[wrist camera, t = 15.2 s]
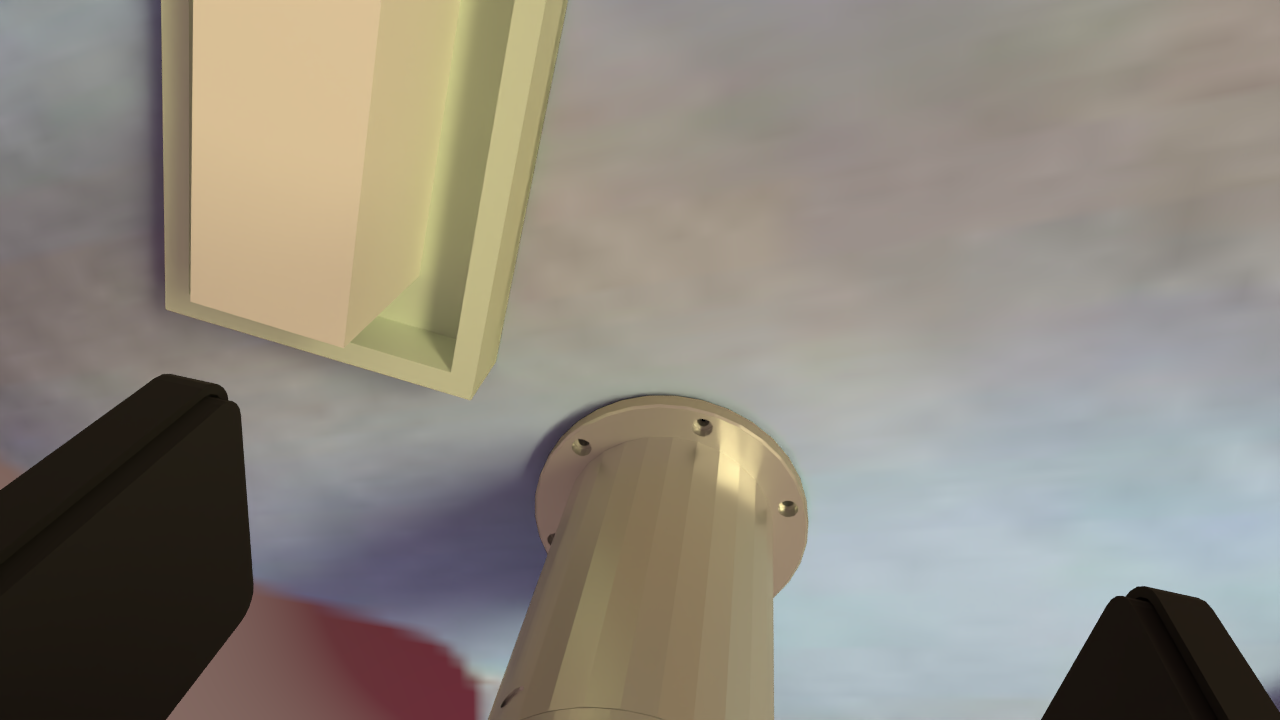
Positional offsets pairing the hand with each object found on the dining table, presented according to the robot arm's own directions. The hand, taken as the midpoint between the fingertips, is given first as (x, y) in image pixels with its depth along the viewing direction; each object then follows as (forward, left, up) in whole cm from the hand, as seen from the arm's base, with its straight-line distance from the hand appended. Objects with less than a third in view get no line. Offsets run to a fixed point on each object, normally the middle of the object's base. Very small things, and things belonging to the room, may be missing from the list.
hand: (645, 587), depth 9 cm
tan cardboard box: (-2, +13, -24) cm, 28 cm away
